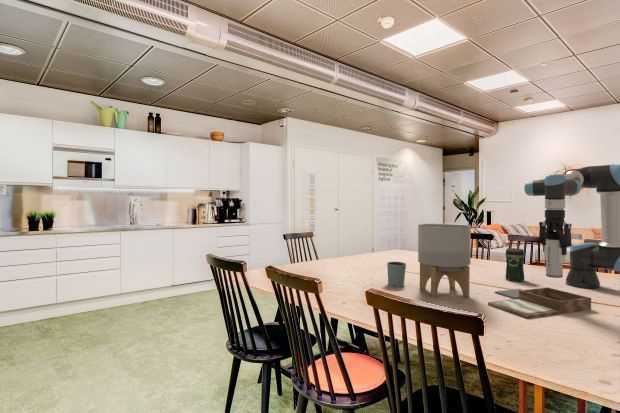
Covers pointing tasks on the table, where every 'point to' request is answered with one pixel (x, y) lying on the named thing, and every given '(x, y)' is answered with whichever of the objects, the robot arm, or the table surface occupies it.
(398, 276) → the blue-grey cup
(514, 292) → the potting mat
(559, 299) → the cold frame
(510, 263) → the coffee jar
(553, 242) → the travel mug
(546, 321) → the table surface
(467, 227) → the planter
